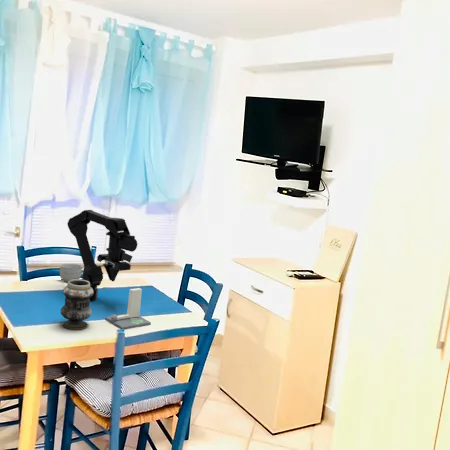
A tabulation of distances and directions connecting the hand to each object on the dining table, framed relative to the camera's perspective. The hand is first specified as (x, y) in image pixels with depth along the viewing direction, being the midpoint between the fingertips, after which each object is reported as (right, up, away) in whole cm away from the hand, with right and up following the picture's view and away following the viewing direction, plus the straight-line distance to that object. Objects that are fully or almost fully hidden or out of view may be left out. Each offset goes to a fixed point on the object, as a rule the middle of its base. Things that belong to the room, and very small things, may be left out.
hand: (112, 280), depth 242 cm
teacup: (-27, -4, +34) cm, 43 cm away
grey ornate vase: (-10, -15, -25) cm, 31 cm away
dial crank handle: (+8, -14, -14) cm, 22 cm away
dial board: (+10, -16, -14) cm, 23 cm away
